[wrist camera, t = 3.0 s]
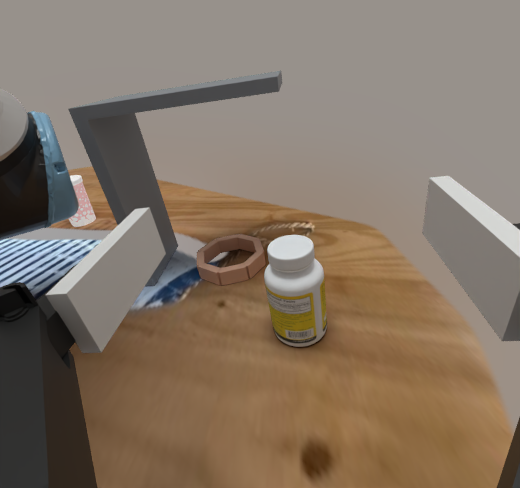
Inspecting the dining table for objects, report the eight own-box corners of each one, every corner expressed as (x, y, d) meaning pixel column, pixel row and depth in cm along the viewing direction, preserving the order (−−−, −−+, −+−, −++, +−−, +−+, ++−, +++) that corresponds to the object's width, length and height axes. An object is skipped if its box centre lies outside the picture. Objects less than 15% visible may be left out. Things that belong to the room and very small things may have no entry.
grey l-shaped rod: (297, 277, 38) (277, 76, 27) (143, 286, 41) (68, 108, 30) (296, 237, 47) (281, 70, 35) (169, 246, 50) (117, 96, 39)
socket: (186, 273, 43) (183, 261, 42) (228, 241, 49) (226, 230, 48) (236, 291, 38) (234, 278, 37) (276, 254, 44) (274, 241, 43)
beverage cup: (105, 214, 66) (76, 148, 59) (86, 228, 61) (51, 158, 54) (82, 215, 68) (51, 151, 61) (61, 228, 63) (25, 161, 56)
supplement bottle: (300, 301, 35) (292, 224, 30) (338, 327, 31) (336, 243, 26) (262, 327, 32) (247, 248, 27) (298, 359, 28) (288, 273, 23)
